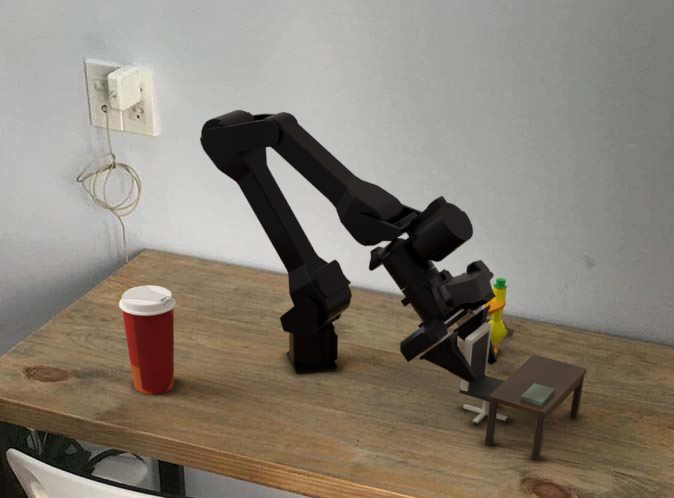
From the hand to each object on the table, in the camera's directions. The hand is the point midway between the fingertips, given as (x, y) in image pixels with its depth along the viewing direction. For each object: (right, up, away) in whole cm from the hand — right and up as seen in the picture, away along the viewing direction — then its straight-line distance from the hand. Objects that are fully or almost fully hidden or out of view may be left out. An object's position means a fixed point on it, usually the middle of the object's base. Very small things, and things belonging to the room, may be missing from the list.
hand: (483, 372), depth 154 cm
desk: (+7, -8, 0) cm, 10 cm away
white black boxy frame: (0, -6, +3) cm, 7 cm away
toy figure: (+3, +5, +20) cm, 21 cm away
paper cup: (-47, -1, +7) cm, 48 cm away
